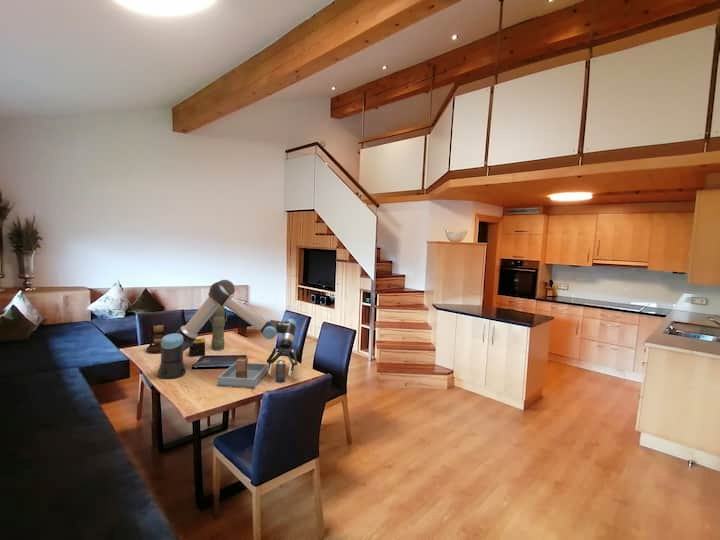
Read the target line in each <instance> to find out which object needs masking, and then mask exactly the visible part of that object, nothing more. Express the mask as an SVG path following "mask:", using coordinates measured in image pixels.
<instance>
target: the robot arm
mask: <svg viewBox="0 0 720 540" xmlns="http://www.w3.org/2000/svg"><path fill="white" fill-rule="evenodd" d="M208 290H209V292H208V293H207V294H208V297H207V299H206V300H205V301H204V302H203V304H202V305H201V306H199V309H198V310H197V311H196V312H195V313H194V315H193V316H192V317H191V318H190V319H189V320H188V322H187V323H186V324H185V325H182V326H181V327H180V328H179V329H178V330H177V331H176V333H175V332H174V333H168V334H167V335H166V336H165V335H163V336H164V337H163V338H162V340H161V352H160V364H159V367H158V369H157V377H158V378H159V379H162V380H163V379H164V380H169V379H170V380H171V379H178V378H181V377H183V376H185V375H186V373H187V369H186V368H187V367H186V365H185V363H184V352H185V351H186V350H188V349H189V347H190V346H192V344H193V343H194V340H195V339H198V333H199V332H200V330H202V328H203V327H204V325H205V324H206V323H207V322H208V321H209V320H210V317H211V316H212V317H213V313H214V312H215V311H216V309H217V308H218V307H219V306H220V305H221V306H222V307H224V308H226V309H227V310H228V309H229V311H231V312H232V313H234V314H235V315H237V316H238V317H239V318H241V319H242V320H243V321H245V322H246V323H248V324H249V325H250V326H252V327H253V328H255V329H256V330H258V331H259V332H260V333H261V334H262V335H263V337H264V338H265V339H267V340H272V339H274V338H275V337H276V336H277V334H281V338H280V343H279V347H278V348H276V347H274V348H273V349H272V352H271V353H270V355H269V356H268V357H267V359H266V364H268V375H269V376H271V375H272V370H273V368H274V363H275V362H277V361H278V359H279V358H280V357H288V360H289V362H290V365H289V369H288V377H291V375H292V372H293V371H294V367H296V366H298V360H297V355H296V354H297V349H296V348H294V349H292V348H293V344H294V338H295V333H296V331H297V329H296V328H297V324H298V323H297V321H296V320H295V319H293V318H286V319H285V321H281V320H274V319H265V318H264V317H263V316H261V315H260V314H259V313H257V312H256V311H255V310H254V309H252V308H251V307H249V306H248V305H246V304H245V303H244V302H242V301H241V300H239V299H238V298H237V297H235V294H234V293H235V291H236V287H235V284H234V283H233V282H232V281H231V280H229V279H220V280H219V281H216V282H214V283H212V285H211V286H210V288H209V289H208ZM276 353H277V354H276ZM291 353H292V355H293V358H294V360H293V358H292V357H291Z"/></svg>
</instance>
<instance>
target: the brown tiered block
mask: <svg viewBox="0 0 720 540" xmlns="http://www.w3.org/2000/svg"><path fill="white" fill-rule="evenodd" d="M154 324H155V323H152V326H149V328H148V329H149V333H148V334H149V340H148V341H149V345H148V346H146V349H145V350H146V351H147V352H149V353H150V354H153V353H161V340H162V338H163V337H164V336H166V335H169V333H168V327H169V325H166V323H165V322H163V324H161V325H154Z"/></svg>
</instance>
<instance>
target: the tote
mask: <svg viewBox="0 0 720 540" xmlns="http://www.w3.org/2000/svg"><path fill="white" fill-rule="evenodd" d="M268 367H269V363H256V362H254V363H253V362H248V364H247V379H246V378H236V361H234V363H232V364H231V365H230V366H229V367H228V368H226V369H225V370H224V371H223V372H221V373H220V374H219V375H218V376H217V382H216V383H217V385H216V386H217V387H227V386H232V387H231V388H241V387H248V388H247V389H255V388H256V387H257V386H258V385H259V383H260V382H261V381H262V380H263V378H264V377H265V376H266V375H265V374H267V373H269V368H268ZM260 380H261V381H260ZM256 385H257V386H256ZM255 386H256V387H255Z"/></svg>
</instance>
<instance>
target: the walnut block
mask: <svg viewBox="0 0 720 540" xmlns="http://www.w3.org/2000/svg"><path fill="white" fill-rule="evenodd" d="M248 361H249V359H248V358H247V357H238V359H236V360H235V362H236V378H246V379H247V364H248V363H249V362H248Z"/></svg>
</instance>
